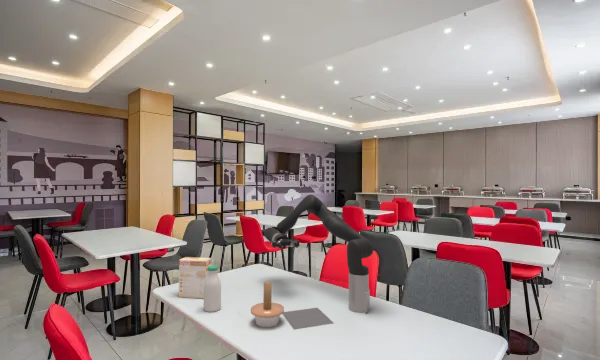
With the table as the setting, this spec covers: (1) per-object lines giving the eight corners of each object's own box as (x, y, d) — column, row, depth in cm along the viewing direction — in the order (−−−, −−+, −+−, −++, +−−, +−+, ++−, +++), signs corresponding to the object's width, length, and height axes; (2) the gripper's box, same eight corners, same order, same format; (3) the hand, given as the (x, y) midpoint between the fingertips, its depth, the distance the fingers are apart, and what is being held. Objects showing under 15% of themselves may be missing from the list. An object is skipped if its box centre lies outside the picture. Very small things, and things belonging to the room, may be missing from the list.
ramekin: (279, 329, 131) (279, 316, 131) (251, 329, 131) (252, 316, 131) (281, 317, 142) (281, 306, 142) (256, 317, 142) (256, 305, 142)
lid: (289, 307, 140) (289, 280, 140) (273, 320, 127) (273, 289, 127) (262, 302, 146) (262, 276, 146) (244, 313, 133) (244, 284, 133)
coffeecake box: (211, 294, 170) (211, 257, 171) (205, 299, 163) (205, 260, 164) (185, 292, 173) (185, 256, 173) (178, 297, 166) (178, 259, 166)
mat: (317, 308, 153) (317, 307, 153) (334, 324, 136) (334, 323, 136) (281, 313, 147) (281, 312, 147) (293, 330, 130) (293, 329, 130)
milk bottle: (224, 309, 151) (224, 266, 151) (209, 313, 145) (210, 269, 146) (215, 304, 156) (215, 263, 156) (200, 309, 151) (201, 266, 151)
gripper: (267, 234, 173) (275, 239, 158) (292, 233, 178) (302, 237, 163) (267, 248, 173) (275, 254, 158) (292, 246, 178) (302, 252, 163)
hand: (289, 246), depth 160 cm, fingers open, 8 cm apart
